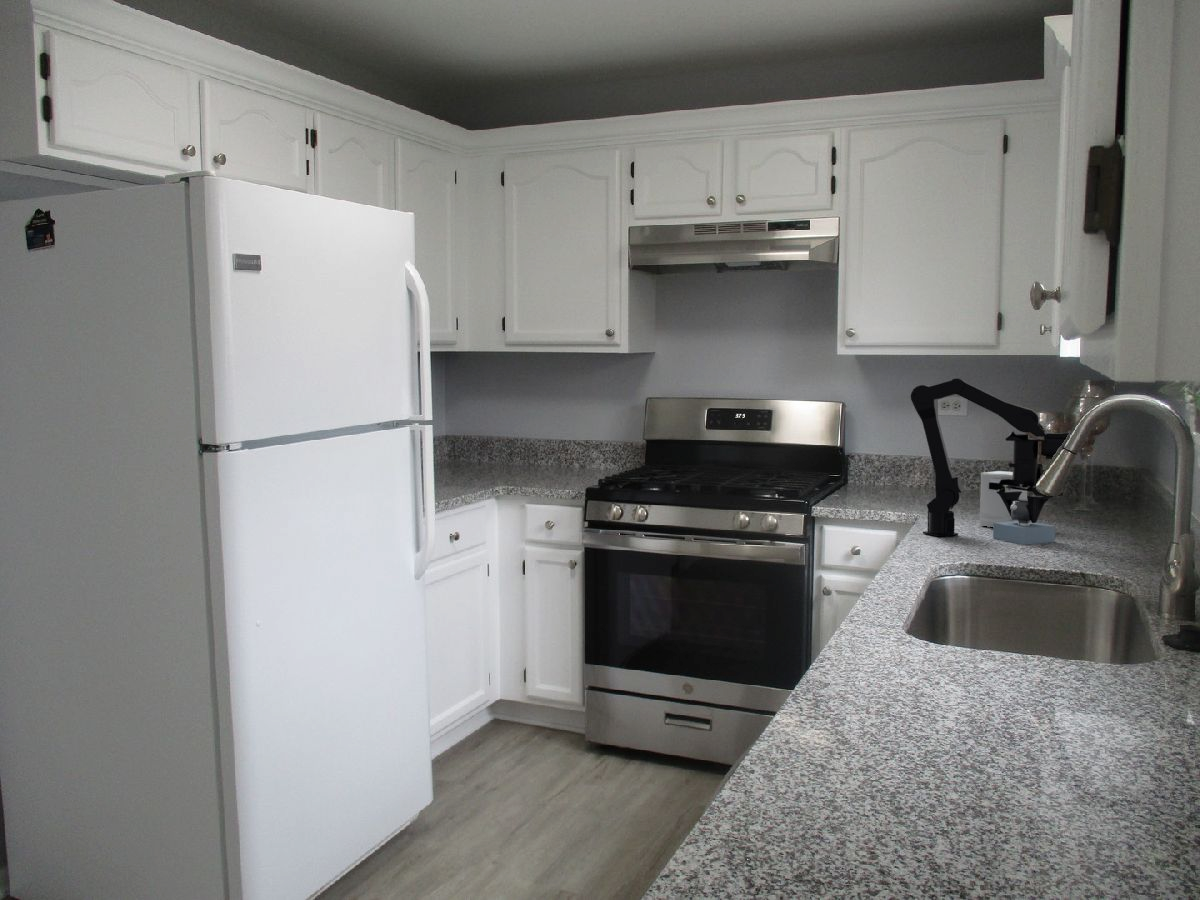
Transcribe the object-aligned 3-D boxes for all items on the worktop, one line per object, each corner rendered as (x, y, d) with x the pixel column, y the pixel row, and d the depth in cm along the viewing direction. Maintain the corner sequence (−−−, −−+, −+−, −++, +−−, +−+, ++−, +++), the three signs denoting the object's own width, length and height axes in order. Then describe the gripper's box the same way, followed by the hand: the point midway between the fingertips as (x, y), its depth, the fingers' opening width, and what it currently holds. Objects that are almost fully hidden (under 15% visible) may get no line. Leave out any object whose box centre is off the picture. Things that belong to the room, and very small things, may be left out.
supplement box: (1009, 530, 254) (1010, 474, 253) (978, 526, 261) (979, 472, 260) (1027, 527, 259) (1029, 472, 258) (997, 523, 267) (998, 470, 265)
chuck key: (1020, 535, 234) (1021, 503, 233) (1002, 531, 239) (1002, 500, 239) (1045, 533, 237) (1046, 501, 236) (1026, 529, 242) (1027, 498, 242)
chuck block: (993, 538, 241) (993, 522, 241) (1023, 535, 245) (1023, 520, 244) (1023, 544, 232) (1024, 528, 231) (1054, 541, 235) (1055, 525, 235)
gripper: (1081, 460, 231) (1079, 524, 232) (1021, 455, 248) (1019, 514, 250) (1046, 462, 227) (1044, 527, 228) (987, 456, 244) (986, 517, 245)
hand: (1023, 521), depth 238 cm, fingers closed on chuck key, 6 cm apart
